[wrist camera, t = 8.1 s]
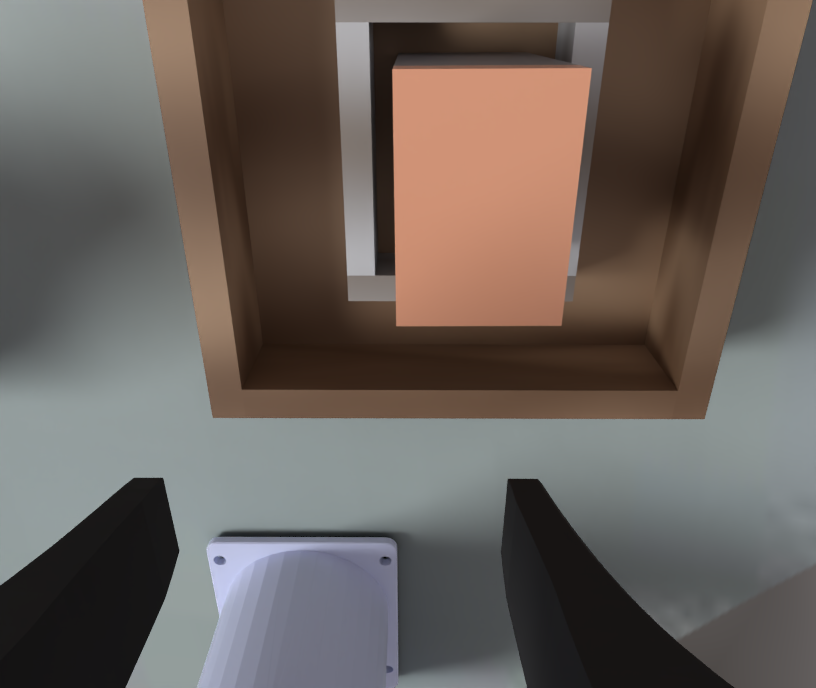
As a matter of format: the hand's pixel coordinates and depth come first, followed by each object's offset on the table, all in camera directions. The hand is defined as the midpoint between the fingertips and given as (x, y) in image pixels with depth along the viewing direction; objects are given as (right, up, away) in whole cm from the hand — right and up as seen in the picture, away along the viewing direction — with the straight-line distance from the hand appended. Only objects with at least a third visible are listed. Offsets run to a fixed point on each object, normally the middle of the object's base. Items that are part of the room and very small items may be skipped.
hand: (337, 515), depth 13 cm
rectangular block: (+3, +9, +5) cm, 11 cm away
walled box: (+3, +10, +6) cm, 12 cm away
